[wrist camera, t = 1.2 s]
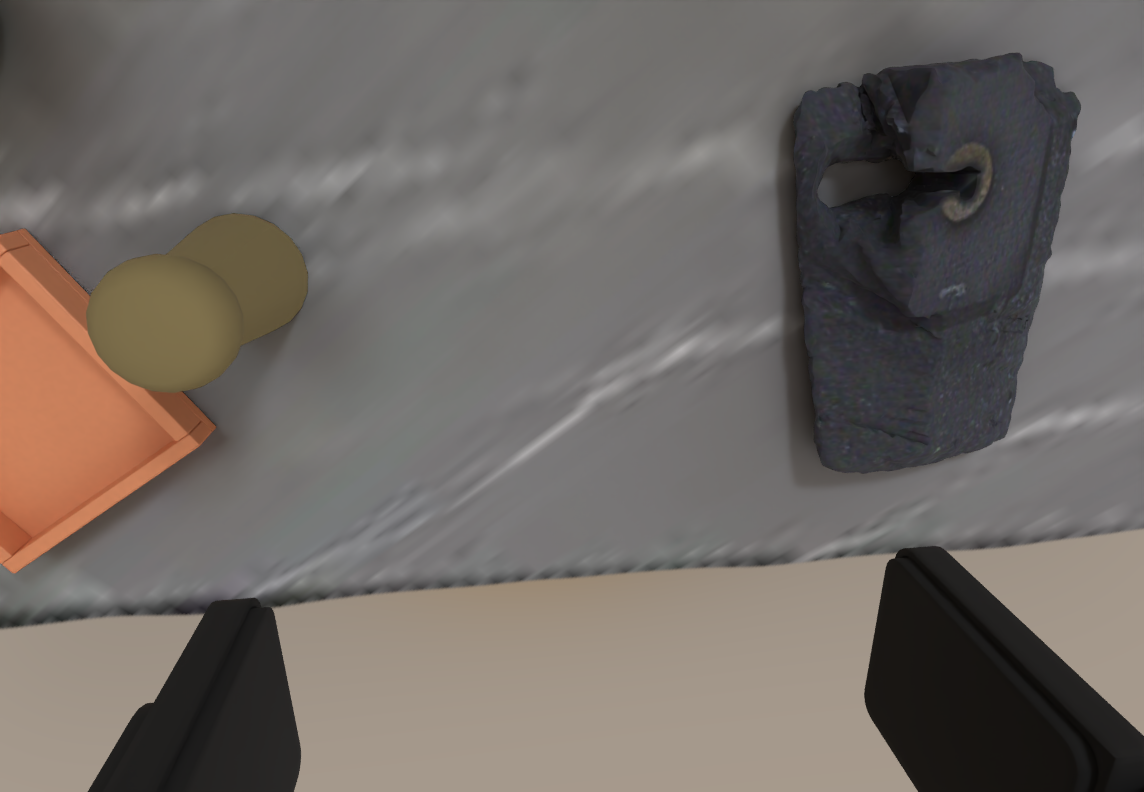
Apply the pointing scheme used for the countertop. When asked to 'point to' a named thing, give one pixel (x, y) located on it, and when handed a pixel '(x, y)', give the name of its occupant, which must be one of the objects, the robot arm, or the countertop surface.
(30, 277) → the terracotta tray
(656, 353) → the countertop surface
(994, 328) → the black fabric pouch
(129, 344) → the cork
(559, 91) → the countertop surface
